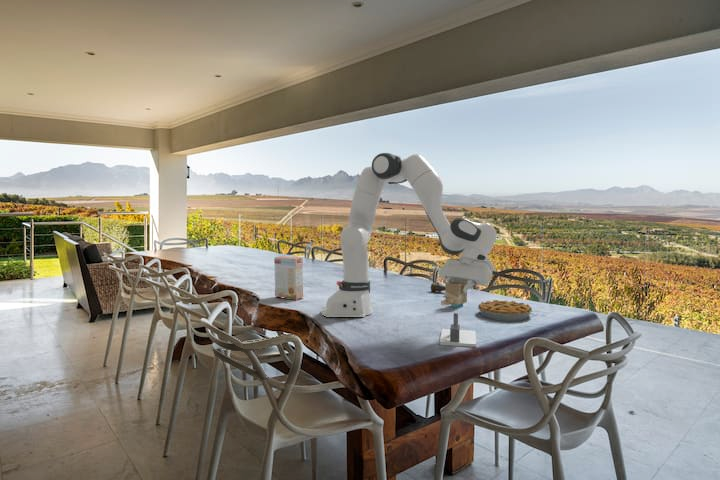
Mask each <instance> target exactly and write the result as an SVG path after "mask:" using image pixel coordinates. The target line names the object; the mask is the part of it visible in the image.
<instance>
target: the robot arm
mask: <svg viewBox="0 0 720 480" xmlns="http://www.w3.org/2000/svg"><path fill="white" fill-rule="evenodd" d="M405 182H406V183H407V182H408V183H409V185H410V187H411V189H413V191H414V193H415V194H416V196H417V198H418V199H419V202H420V203H421V205H422V207H423V210H424V212H425V214H426V216H427V218H428V220H429V222H430V223H431V225H432V226H433V228H434V231H435V232H436V234H437V237H438V239H439V245H440V248H441V249H442V250H443V251H444V253H447V254H448V255H451V256H458V255H460V256H459V258H450V259H447V260H446V261H445V262H444V263H443V264H442V266H441V268H440V269H439V270H438V273H437V274H438V275H439V278H440V279H441V280H444V281H446V283H448V282H453V281H458V282H464V283H468V284H466V285H465V286H462V288H461V291H462V292H463V293H466V292H467V293H468V290H470V289H471V288H473V287H474V285H475V286H476V285H477V286H482V287H485V286H487V285H489V283H491V282H490V281H491V279H492V277H493V272H494V271H495V268H496V267H495V266H494V263H493V261H492V260H491V259H490V257H489V256H488V255H489V254H490V252H491V251H492V250H493V247H494V246H495V243H496V240H497V235H498V234H497V231H496V229H495V227H494V226H493V225H491V224H490V223H487V222H475V221H472V220H469V218H466V217H456V218H454V219H453V220H452V221H451V222H449V220H448V219H447V217H446V214H445V212H444V211H443V208H442V195H443V189H444V185H443V183H442V180H441V178H440V176H439V174H438V173H437V171H436V170H435V169H434V168H433V166H432V165H431V164H430V163H429V162H428V161H427V160H426V158H425V157H424V156H422V155H421V154H415V153H414V154H411V155H409V156H407V157H406V158H402V157H401V156H399V155H396V154H392V153H390V152H383V153H382V152H381V153H379V154H377V155H375V156H374V158H373V160H372V162H371V166H367V167H365V168H363V170H362V172H361V173H360V174H359V178H358V181H357V183H356V186H355V189H354V193H353V197H352V201H351V203H350V204H351V205H350V211H349V218H348V224H347V225H346V226H345V227H343V228H342V230H341V232H340V237H339V240H340V248H341V255H342V265H343V280H342V281H340V280H337V281H336V285H337V286H338V290H337V291H336V292H334V293H333V294H332V295H331V296H329V297H328V298H327V300H326V304H325V305H326V306H325V308H322V309H321V310H320V314H321V313H322V314H323V315H324V316H326V317H363V318H365V317H366V315H367V316H369V315H372V314H373V313H374V312H373V307H372V304H371V298H370V297H371V295H370V293H371V281H370V263H369V255H368V243H369V242H370V240H371V237H372V232H373V229H374V223H375V218H376V214H377V210H378V207H379V202H380V198H381V195H382V191H383V188H384V186H385V185H386V184H389V185H393V184H394V185H395V184H396V185H397V184H402V183H405ZM444 286H445V288H446V285H444ZM324 316H323V317H324ZM326 317H325V318H326Z"/></svg>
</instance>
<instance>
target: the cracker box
mask: <svg viewBox="0 0 720 480" xmlns="http://www.w3.org/2000/svg"><path fill="white" fill-rule="evenodd" d="M273 263H274V295H275V296H276V297H284V298H291V299H299V298H302V297H303V298H304V279H303V278H304V272H303V271H304V270H303V257H295V256H285V255H284V256H283V255H282V256H275V257H274V262H273ZM275 296H274V297H275ZM299 300H300V299H299Z"/></svg>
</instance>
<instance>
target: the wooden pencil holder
mask: <svg viewBox="0 0 720 480" xmlns="http://www.w3.org/2000/svg"><path fill="white" fill-rule="evenodd" d="M466 284H467V283H464V282H458V281H453V282H448V283H447V282H445V286H446V290H445V299H444V300H440V305H441V306H444V307H446V306H449V305H450V306H451V304H457V305H458V304H462V303H463V304H465V303H468V291H467V292H466V293H463V292H462V291H461V288H462V286H465V285H466Z"/></svg>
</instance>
